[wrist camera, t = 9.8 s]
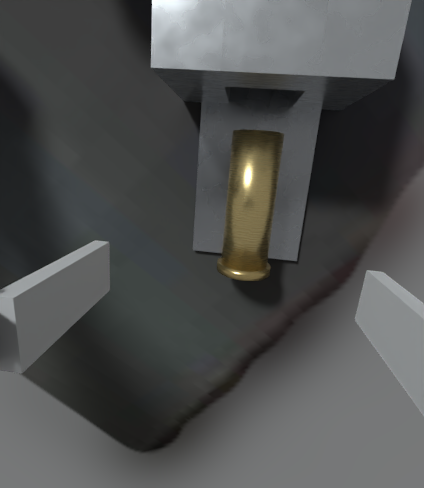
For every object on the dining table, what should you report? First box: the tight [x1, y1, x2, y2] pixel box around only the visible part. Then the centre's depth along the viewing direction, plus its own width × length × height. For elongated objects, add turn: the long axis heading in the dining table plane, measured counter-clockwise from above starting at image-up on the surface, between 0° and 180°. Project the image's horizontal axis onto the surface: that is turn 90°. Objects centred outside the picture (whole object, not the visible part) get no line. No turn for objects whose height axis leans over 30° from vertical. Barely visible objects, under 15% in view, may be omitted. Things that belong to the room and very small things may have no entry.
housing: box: [151, 0, 412, 261], centre depth 25 cm, size 16×28×11 cm, turn 176°
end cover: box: [217, 130, 284, 281], centre depth 29 cm, size 6×14×6 cm, turn 176°
